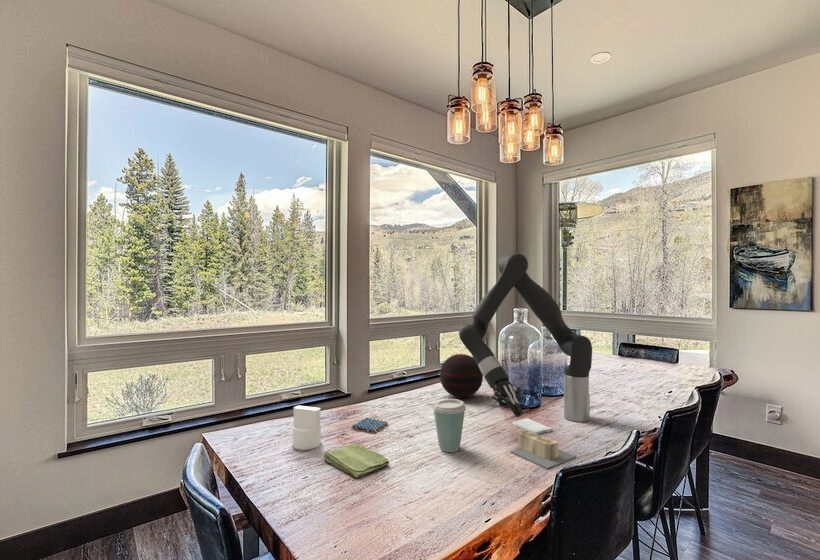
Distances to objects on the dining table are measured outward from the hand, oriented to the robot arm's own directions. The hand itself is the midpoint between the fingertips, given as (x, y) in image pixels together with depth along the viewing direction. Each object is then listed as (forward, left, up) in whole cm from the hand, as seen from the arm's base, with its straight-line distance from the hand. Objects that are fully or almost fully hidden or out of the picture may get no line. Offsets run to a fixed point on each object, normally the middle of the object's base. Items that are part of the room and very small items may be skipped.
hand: (520, 415), depth 137 cm
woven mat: (+33, -43, -11) cm, 55 cm away
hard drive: (-17, -9, -11) cm, 22 cm away
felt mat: (0, +9, -10) cm, 13 cm away
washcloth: (+51, -19, -11) cm, 55 cm away
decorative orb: (-22, -54, -10) cm, 59 cm away
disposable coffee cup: (+21, -12, -10) cm, 26 cm away
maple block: (0, +1, -7) cm, 7 cm away
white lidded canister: (+58, -41, -10) cm, 72 cm away
